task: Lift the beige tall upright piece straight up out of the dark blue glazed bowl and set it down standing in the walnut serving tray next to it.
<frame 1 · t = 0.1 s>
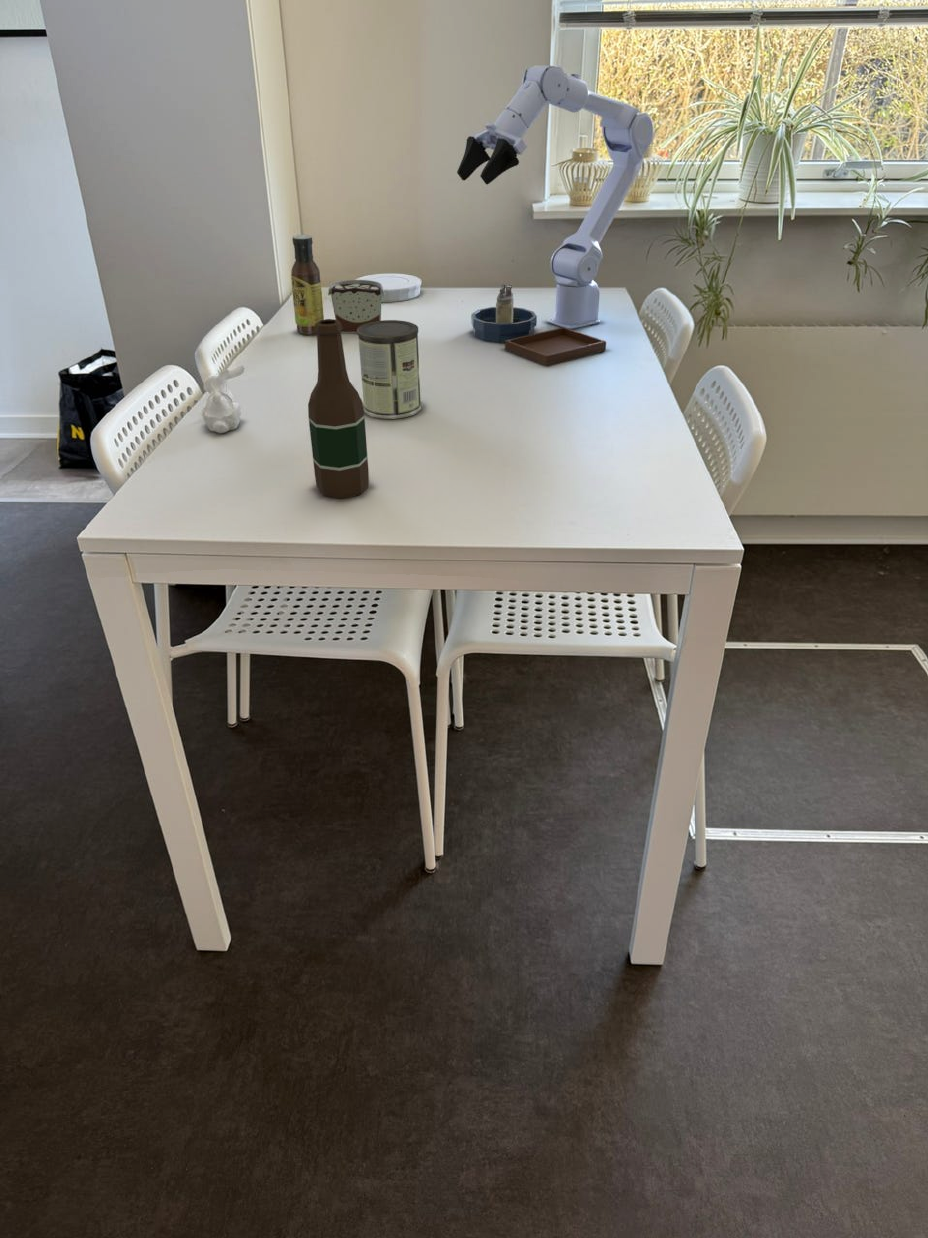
hand: (472, 178, 170), 32 cm above the table, tool tilted 50°, fingers open, 7 cm apart
rabbit figurine: (229, 424, 152), on the table
beige tall upright piece: (503, 334, 195), resting in bowl
sauce bottle: (311, 332, 197), on the table
tray: (555, 350, 184), on the table
food container: (361, 330, 198), on the table
beer bottle: (343, 489, 130), on the table
bowl: (503, 333, 195), on the table
coffee can: (392, 409, 157), on the table
lid: (383, 295, 223), on the table
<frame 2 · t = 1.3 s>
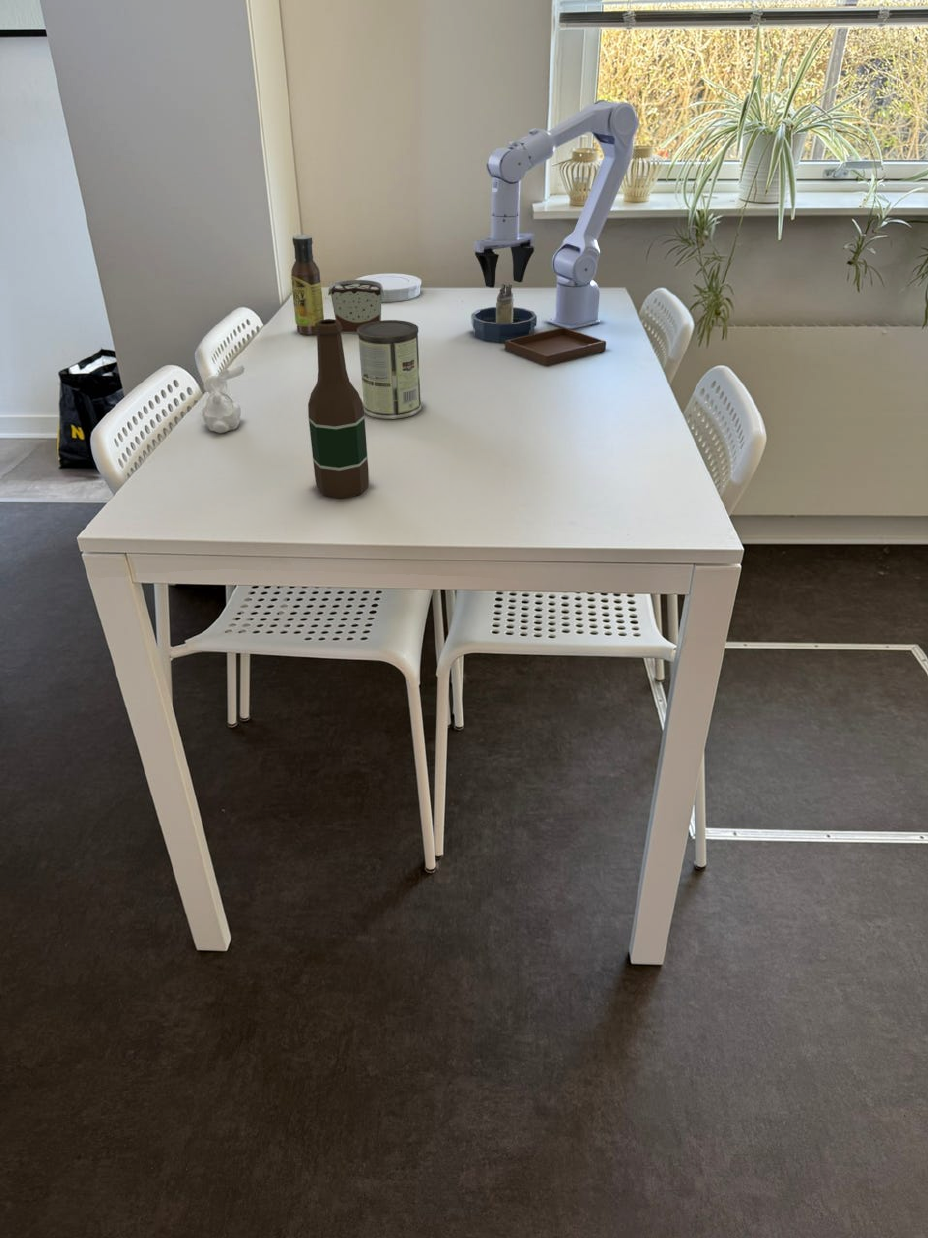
hand: (504, 283, 189), 10 cm above the table, tool pointing down, fingers open, 7 cm apart
nothing on the table moved.
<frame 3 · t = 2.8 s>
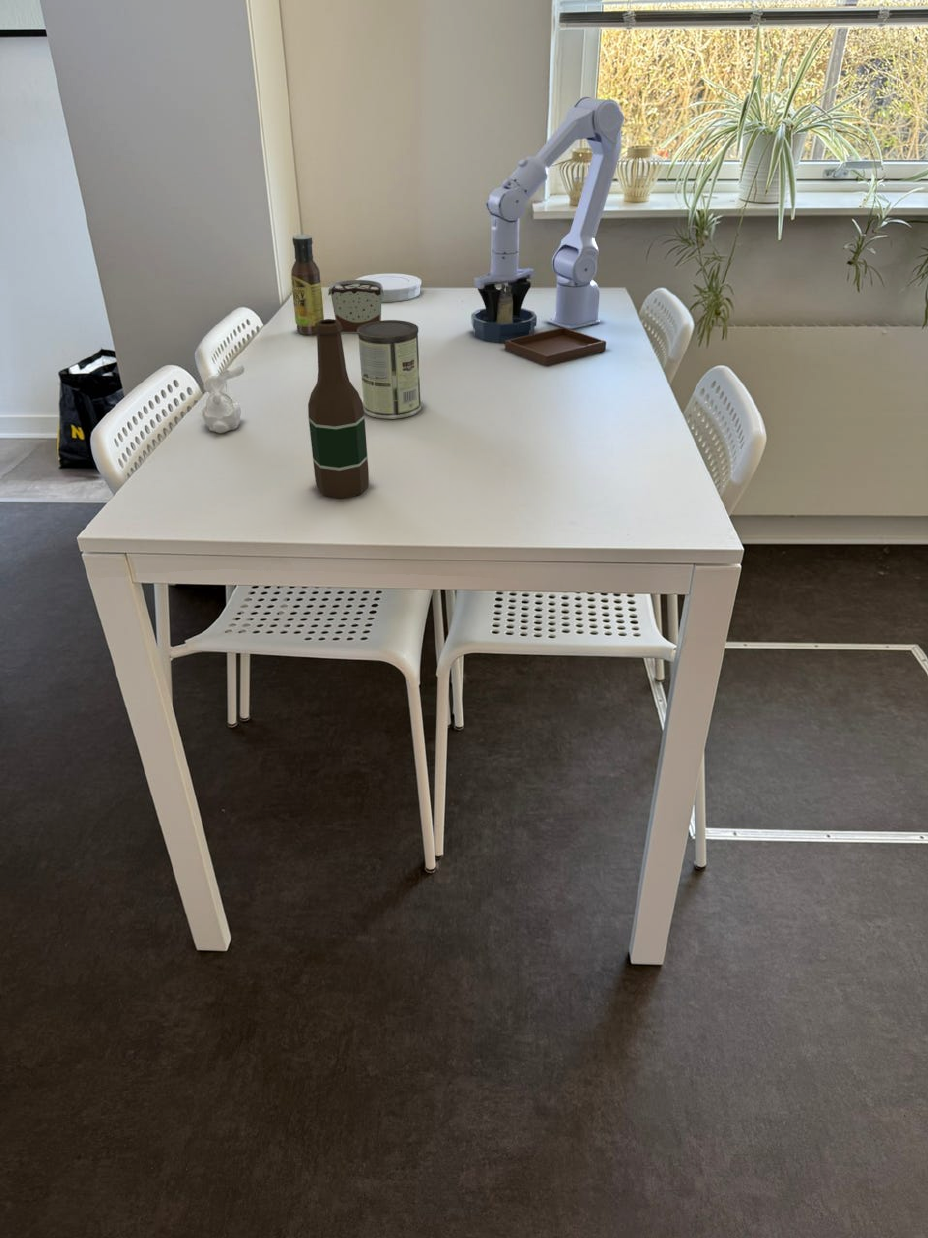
hand: (503, 317, 193), 3 cm above the table, tool pointing down, fingers closed on beige tall upright piece, 6 cm apart
beige tall upright piece: (503, 334, 195), resting in bowl, touching gripper
everything else where it was.
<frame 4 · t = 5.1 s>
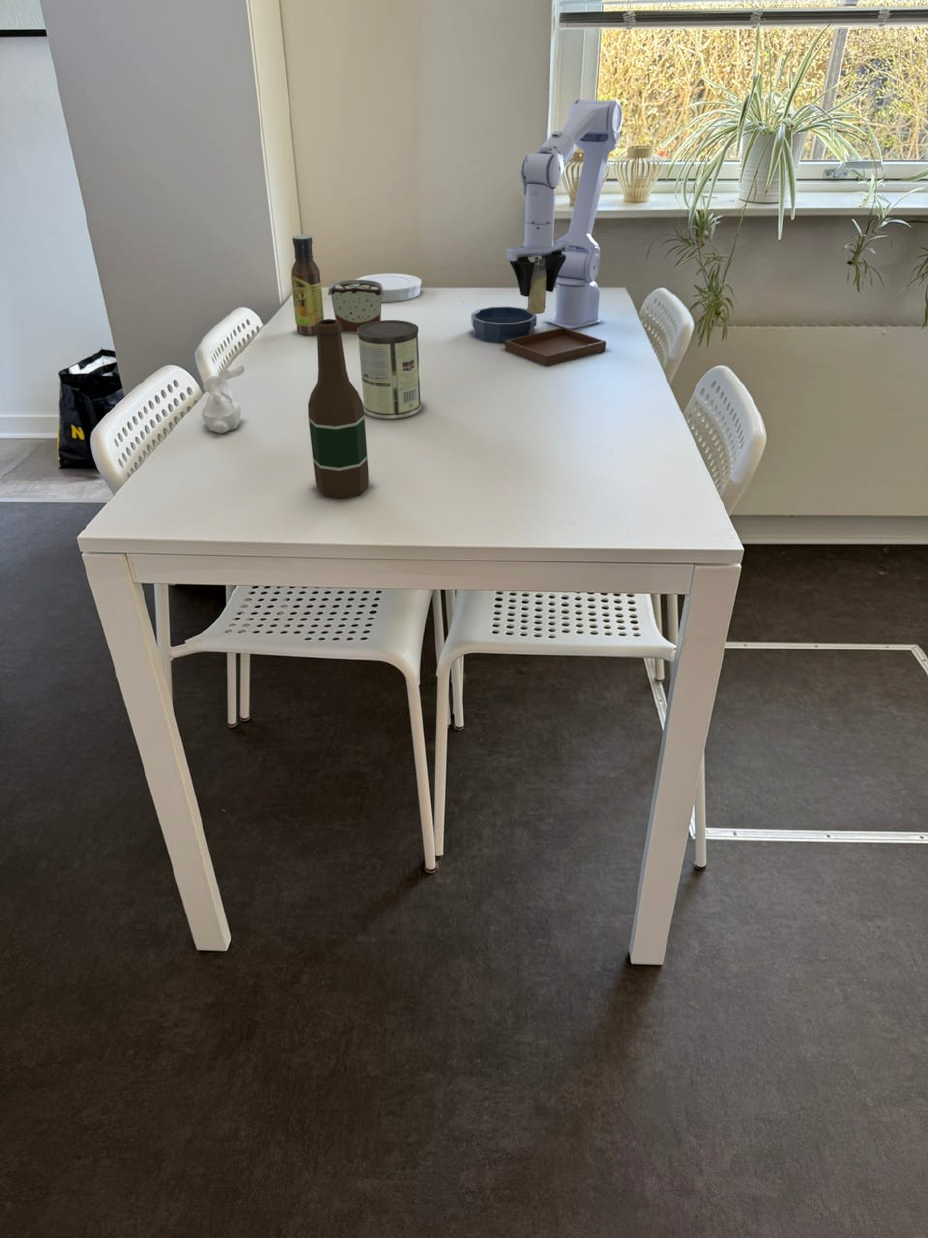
hand: (536, 293, 182), 10 cm above the table, tool pointing down, fingers closed on beige tall upright piece, 6 cm apart
beige tall upright piece: (535, 311, 184), point 7 cm above the table, touching gripper
everything else where it was.
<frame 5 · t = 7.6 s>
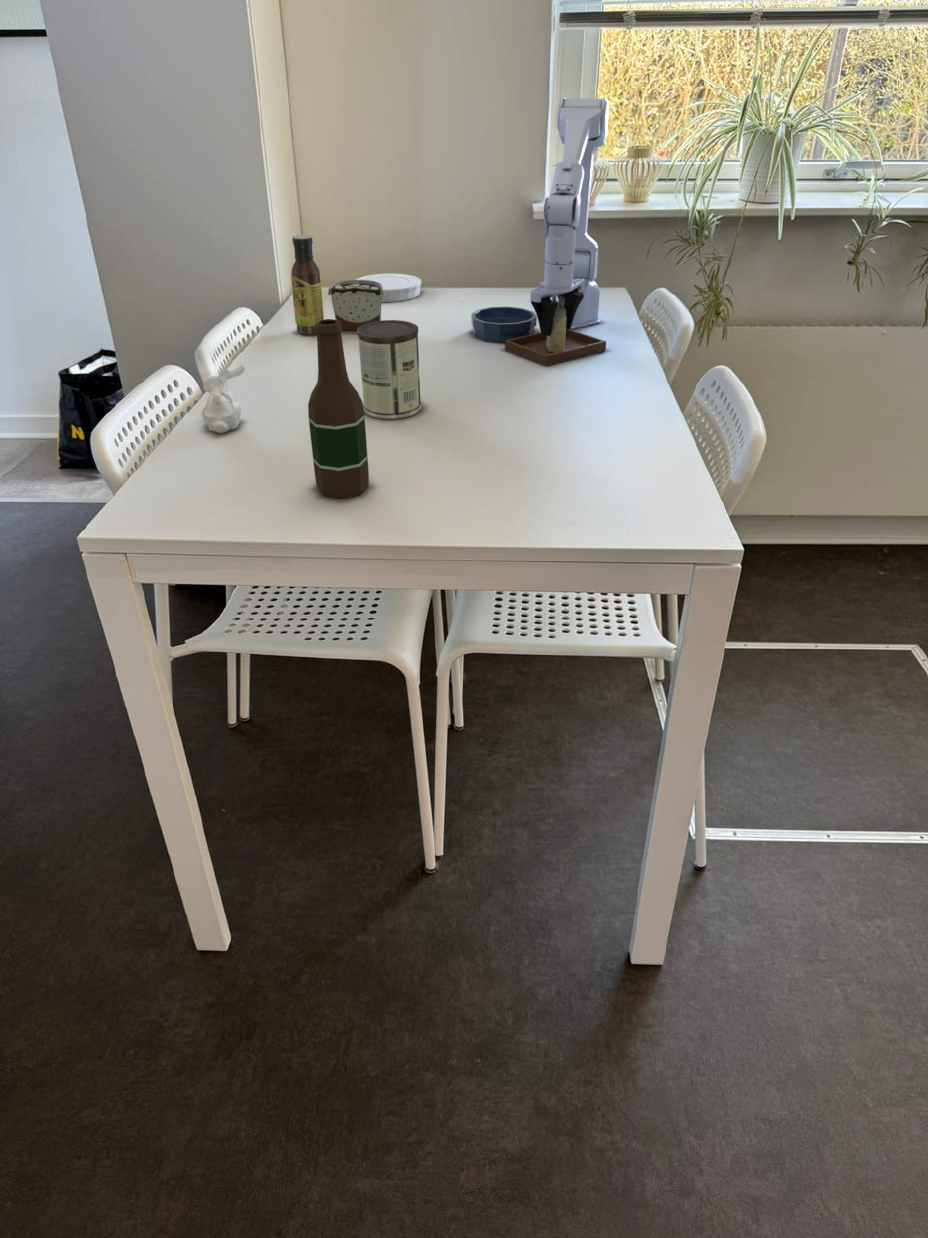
hand: (555, 331, 182), 4 cm above the table, tool pointing down, fingers closed on beige tall upright piece, 6 cm apart
beige tall upright piece: (554, 349, 184), resting on tray, touching gripper
everything else where it was.
when the fingers open (4 cm above the table, at t = 7.8 s): beige tall upright piece stays where it is, resting on tray.
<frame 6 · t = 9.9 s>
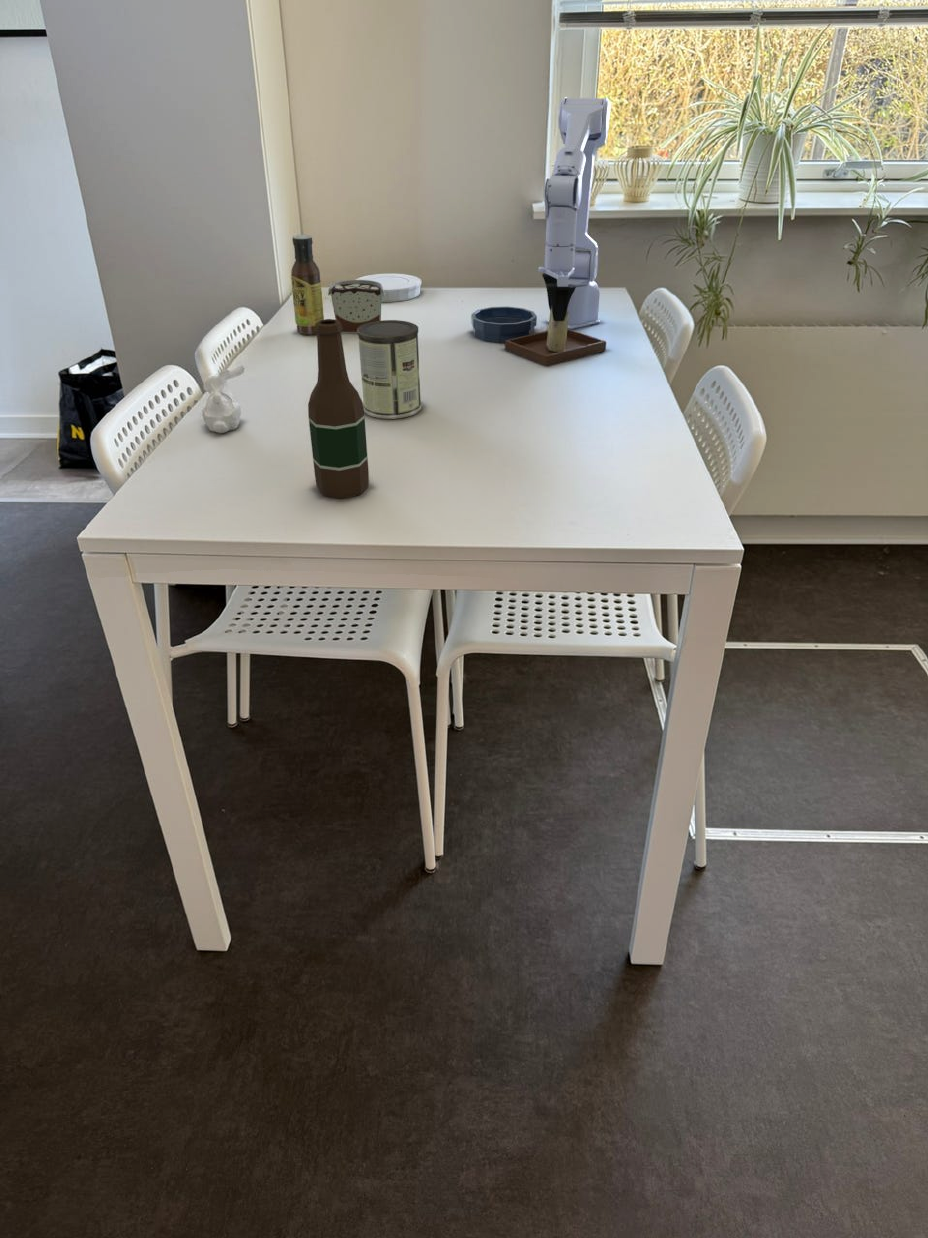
hand: (556, 315, 180), 7 cm above the table, tool pointing down, fingers open, 7 cm apart
beige tall upright piece: (554, 348, 184), resting on tray, touching gripper
everything else where it was.
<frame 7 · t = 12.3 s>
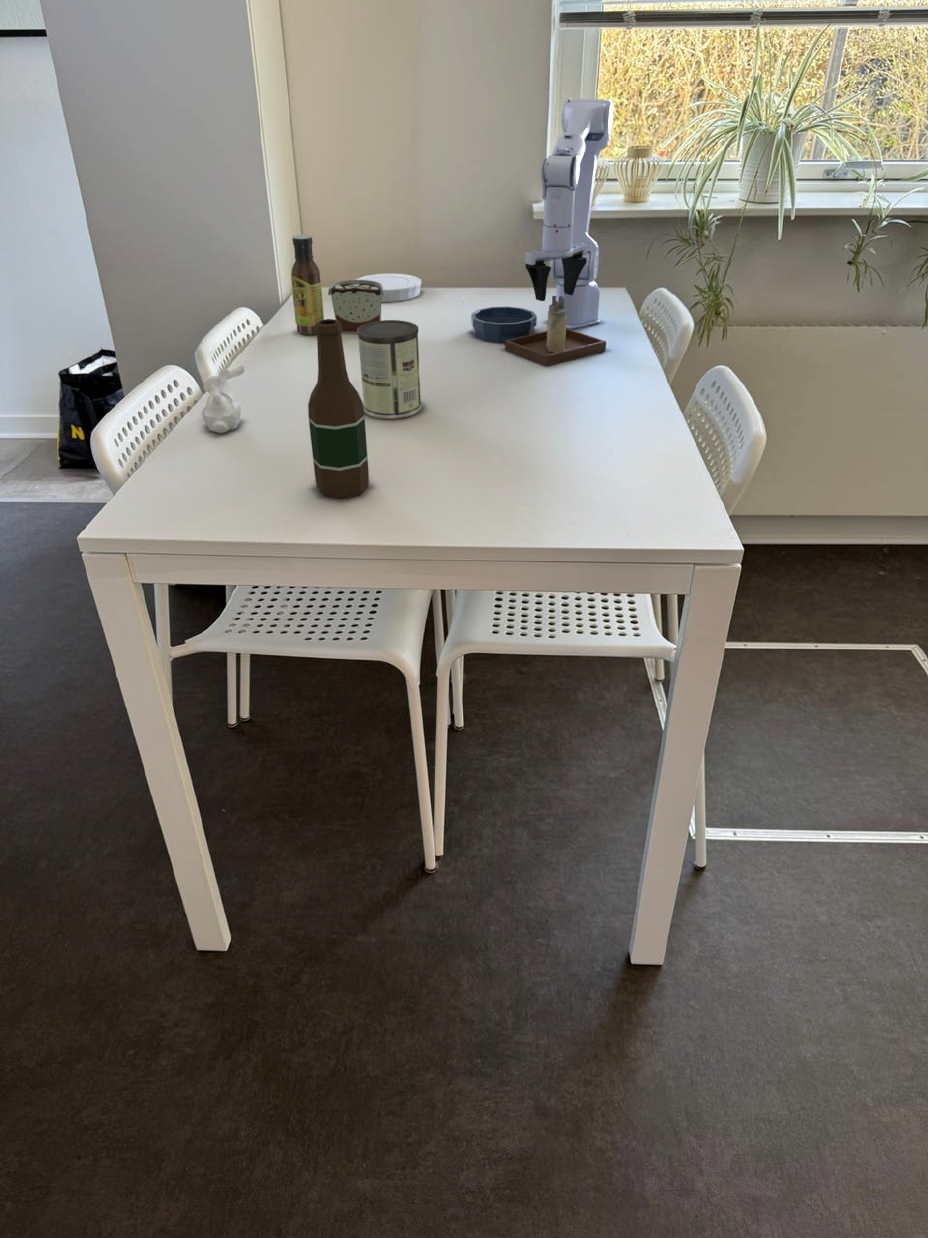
hand: (554, 296, 180), 10 cm above the table, tool pointing down, fingers open, 7 cm apart
beige tall upright piece: (554, 349, 184), resting on tray
everything else where it was.
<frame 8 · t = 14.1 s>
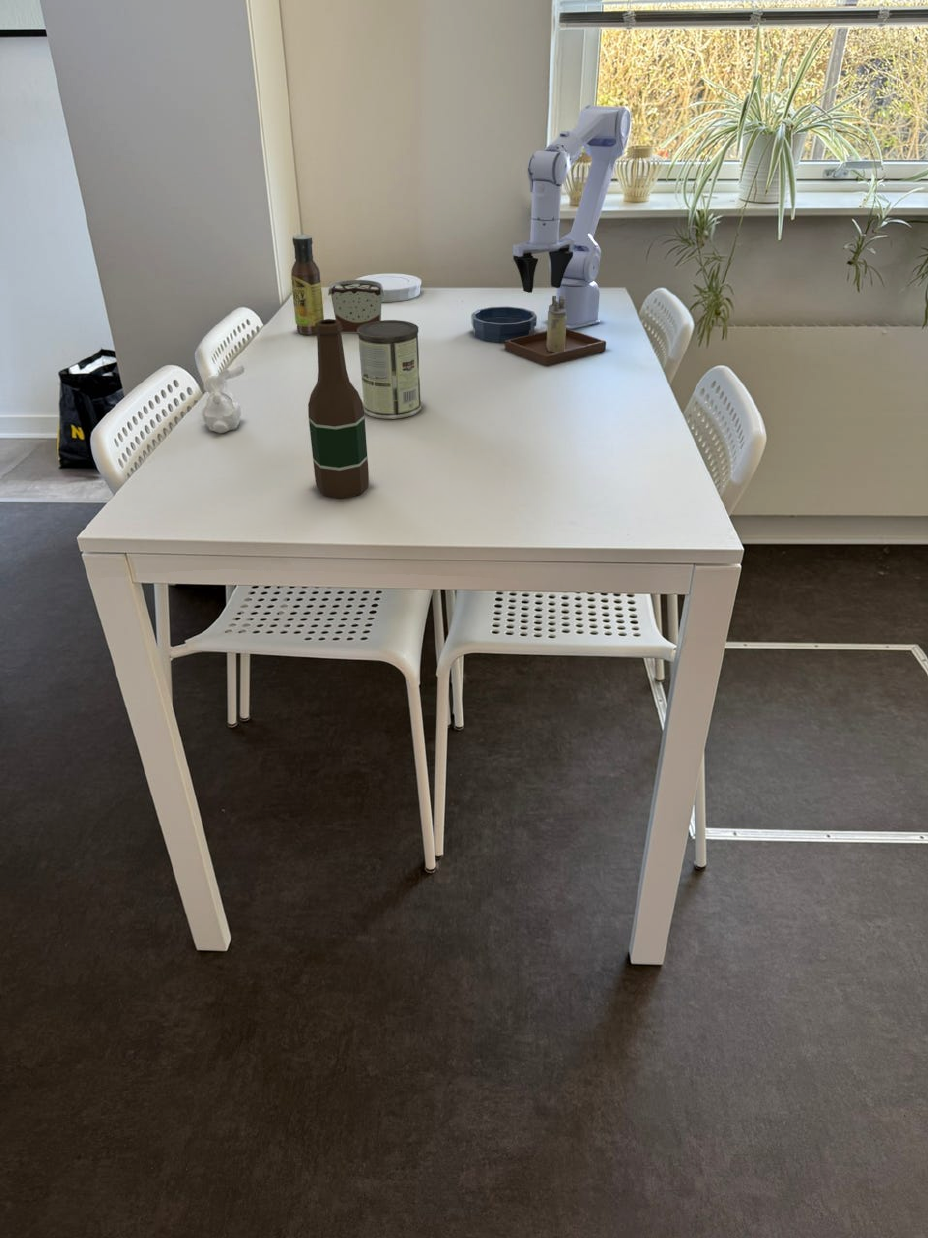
hand: (541, 289, 185), 10 cm above the table, tool pointing down, fingers open, 7 cm apart
nothing on the table moved.
at the end: beige tall upright piece inside the target area on the tray (0.1 cm from its centre), point 0.3 cm above the tray's base; beige tall upright piece touching tray; the gripper is holding nothing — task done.
